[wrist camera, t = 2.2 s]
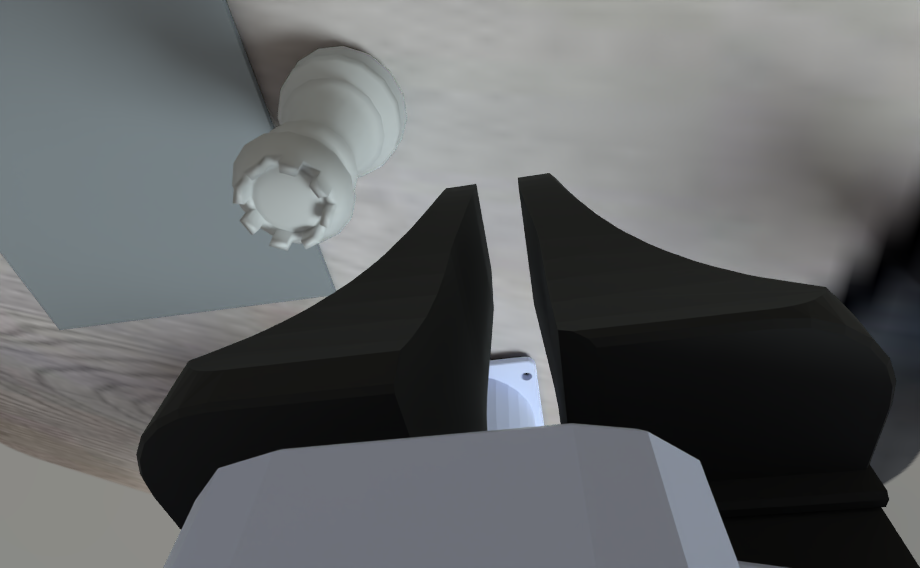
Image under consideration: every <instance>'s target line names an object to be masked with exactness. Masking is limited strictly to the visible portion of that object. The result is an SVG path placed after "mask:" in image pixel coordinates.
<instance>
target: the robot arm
mask: <svg viewBox="0 0 920 568" xmlns="http://www.w3.org/2000/svg"><path fill="white" fill-rule="evenodd" d="M518 184H519V193H520V200H521V208H522V216H523V223H524V231H525V239H526V246H527V254H528V262H529V269H530V277H531V285H532V292H533V300H534V306H535V310H536V314H537V318H538V322H539V326H540V330H541V334H542V338H543V343H544V347H545V351H546V355H547V359H548V363H549V367H550V371H551V375H552V379H553V383H554V387H555V392H556V397H557V402H558V408H559V415H560V422H561V424H558V425H547V426H544V422H543V415H542V407H541V400H540V393H539V386H538V379H537V372H536V364H535V361H534V360H533V359H532V358H530V357H517V358H507V359H498V360H490V353H491V339H492V325H493V311H494V305H493V288H492V272H491V265H490V259H489V254H488V248H487V242H486V237H485V231H484V225H483V220H482V214H481V209H480V203H479V197H478V192H477V186H476V184H473V185H467V186H460V187H453V188H446V189H445V190H444V191H443V192H442V193H441V195H440V196H439V197H438V198H437V199H436V200H435V202H434V203H433V204H432V205H431V206H430V208H429V209H428V210H427V211H426V212H425V213H424V214H423V216H422V217H421V218H420V219H419V220H418V221H417V222H416V224H415V225H414V226H413V227H412V228H411V229H410V230H409V231H408V232H407V233H406V234H405V235H404V236H403V237H402V238H401V239H400V240H399V241H398V242H397V243H396V244H395V245H394V246H393V247H392V248H391V249H390V250H389V251H388V252H387V253H386V254H385V255H384V256H382V257H381V258H380V259H379V260H378V261H377V262H376V263H374V264H373V265H372V266H371V267H369V268H368V269H367V270H366V271H364V272H363V273H362V274H360V275H359V276H358V277H356V278H355V279H354V280H352V281H351V282H350V283H348V284H347V285H345V286H344V287H342V288H340V289H339V290H337V291H336V292H334V293H333V294H331V295H329V296H328V297H326V298H325V299H323V300H321V301H320V302H318V303H317V304H315V305H313V306H312V307H310V308H308V309H306V310H305V311H303V312H301V313H299V314H297V315H295V316H293V317H291V318H290V319H288V320H286V321H284V322H282V323H279V324H277V325H275V326H273V327H271V328H269V329H267V330H265V331H263V332H261V333H258V334H256V335H254V336H252V337H249V338H247V339H244V340H242V341H239V342H237V343H234V344H232V345H229V346H227V347H224V348H221V349H219V350H216V351H214V352H211V353H209V354H206V355H204V356H201V357H198V358H195V359H192V360H190V361H189V362H188V363H187V365H186V366H185V368H184V369H183V371H182V372H181V374H180V376H179V377H178V379H177V380H176V382H175V384H174V385H173V387H172V388H171V390H170V392H169V393H168V395H167V396H166V398H165V399H164V401H163V403H162V404H161V406H160V407H159V409H158V411H157V412H156V414H155V415H154V417H153V418H152V420H151V422H150V423H149V425H148V426H147V428H146V430H145V431H144V433H143V434H142V436H141V439H140V443H139V446H138V450H137V454H136V455H137V460H138V466H139V471H140V474H141V476H142V478H143V480H144V481H145V483H146V485H147V486H148V488H149V490H150V491H151V493H152V495H153V496H154V497H155V499H156V500H157V501H158V502H159V504H160V505H161V506H162V507H163V508H164V510H165V511H166V512H167V513H168V515H169V516H170V517H171V518H172V519H173V521H174V522H175V523H176V524H177V525H178V527H179V528H180V529H181V531H180V534H179V536H178V538H177V540H176V542H175V544H174V546H173V548H172V550H171V552H170V555H169V557H168V559H167V561H166V563H165V565H164V567H163V568H920V567H919V565H918V564H917V562H916V561H915V559H914V558H913V556H912V555H911V553H910V551H909V550H908V548H907V547H906V545H905V544H904V542H903V541H902V539H901V537H900V536H899V534H898V533H897V532H896V530H895V528H894V526H893V525H892V523H891V522H890V520H889V519H888V517H887V516H886V514H885V513H884V511H883V509H882V508H881V507H886V505H887V503H888V501H889V497H888V493H887V490H886V488H885V487H884V485H883V484H882V482H881V481H880V479H879V478H878V476H877V475H876V473H875V472H874V470H873V469H872V467H871V466H870V461H871V459H872V456H873V454H874V451H875V448H876V446H877V443H878V440H879V438H880V435H881V432H882V430H883V427H884V424H885V422H886V419H887V417H888V414H889V411H890V409H891V406H892V402H893V396H894V391H895V385H896V378H895V375H894V371H893V368H892V364H891V360H890V358H889V357H888V356H887V354H886V353H885V352H884V351H883V350H882V349H881V347H880V346H879V345H878V344H877V343H876V342H875V340H874V339H873V338H872V337H871V336H870V334H869V333H868V332H867V330H866V329H865V328H864V327H863V325H862V324H861V323H860V322H859V321H858V319H857V318H856V317H855V316H854V315H853V314H852V313H851V312H850V311H849V310H848V309H847V308H846V307H845V306H844V305H843V303H842V302H841V301H840V300H839V299H838V298H837V297H836V296H835V295H833V294H832V293H831V292H830V291H829V290H828V289H827V288H826V287H821V286H814V285H808V284H801V283H795V282H788V281H782V280H775V279H768V278H762V277H756V276H751V275H747V274H742V273H738V272H734V271H730V270H726V269H721V268H717V267H713V266H710V265H707V264H703V263H700V262H696V261H693V260H690V259H687V258H684V257H682V256H679V255H676V254H673V253H670V252H667V251H665V250H662V249H660V248H657V247H655V246H653V245H650V244H648V243H646V242H644V241H642V240H640V239H638V238H636V237H634V236H632V235H630V234H628V233H626V232H624V231H622V230H620V229H619V228H617V227H615V226H614V225H612V224H611V223H609V222H607V221H606V220H604V219H603V218H601V217H600V216H598V215H597V214H595V213H594V212H593V211H592V210H590V209H589V208H588V207H587V206H585V205H584V204H583V203H582V202H580V201H579V200H578V199H577V198H576V197H575V196H573V195H572V194H571V193H570V192H569V191H568V190H567V189H566V188H565V187H564V186H563V185H562V184H561V183H560V182H559V181H558V180H557V179H556V178H555V177H553V176H552V175H551V174H550V173H547V174H540V175H533V176H527V177H520V178H518ZM523 373H530V374H528V375H524V374H523Z"/></svg>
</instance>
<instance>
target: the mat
mask: <svg viewBox="0 0 920 568" xmlns="http://www.w3.org/2000/svg"><path fill="white" fill-rule="evenodd" d="M273 129H274V126H273V123H272V121H271V118H270V115H269V113H268V110H267V107H266V105H265V102H264V100H263V97H262V94H261V92H260V89H259V86H258V84H257V81H256V78H255V76H254V73H253V70H252V68H251V65H250V63H249V60H248V57H247V55H246V52H245V49H244V47H243V44H242V41H241V39H240V36H239V34H238V31H237V28H236V26H235V23H234V20H233V18H232V15H231V12H230V10H229V7H228V5H227V2H226V0H0V253H1V254H2V255H3V257H4V258H5V259H6V261H7V262H8V263H9V264H10V266H11V267H12V268H13V270H14V271H15V272H16V274H17V275H18V276H19V277H20V279H21V280H22V281H23V283H24V284H25V285H26V287H27V288H28V289H29V291H30V292H31V293H32V294H33V296H34V297H35V298H36V300H37V301H38V302H39V304H40V305H41V306H42V308H43V309H44V310H45V311H46V313H47V314H48V315H49V317H50V318H51V319H52V321H53V322H54V323H55V324H56V326H57V327H58V328H59V330H64V329H72V328H80V327H88V326H95V325H103V324H111V323H119V322H127V321H135V320H143V319H151V318H158V317H166V316H174V315H182V314H190V313H198V312H206V311H214V310H221V309H229V308H237V307H245V306H253V305H261V304H269V303H277V302H284V301H292V300H300V299H308V298H316V297H324V296H329V295H331V294H333V293H334V292H336V290H335V287H334V284H333V282H332V279H331V276H330V274H329V271H328V268H327V266H326V263H325V260H324V258H323V255H322V253H321V250H320V247H319V245H318V244H316V245H314V246H312V247H310V248H308V249H305V247H304V245H303V244H297V243H293V242H292V244H291V246H290V248H289V249H288V251H286V250H283V249H279V248H275V247H271V246H269V245H270V242H271V239H272V237H273V236H272V235H270V234H269V233H267V232H266V231H264V230H262V229H261V228H260V229H259V230H258V231H257V232H255V233H254V234H253V235H251V234H250V232H249V231H248V230H247V229H246V228H245V227H244V225H243V224H242V223H241V222H240V221H239V220H240V219H241V218H242V216H243V215H244V214H245V212H244V211H243V210H242V208H241V207H240V205H239V204H234V203H233V192H234V189H233V186H232V178H233V163H234V161H235V160H236V158H237V156H238V155H239V153H240V152H241V150H242V148H243V147H244V145H245V144H247V143H249V142H250V141H252V140H254V139H256V138H257V137H259V136H261V135H262V134H265V133H269V132H270V131H271V130H273Z"/></svg>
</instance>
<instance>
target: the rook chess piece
mask: <svg viewBox="0 0 920 568" xmlns="http://www.w3.org/2000/svg"><path fill="white" fill-rule="evenodd" d="M278 120H279V124H280V125H279V126H278V127H276V128H274V129H273V130H271V131H270V132H269V133H265V134H262V135H261V136H259V137H257V138H256V139H254V140H252V141H250V142H249V143H247V144H245V145H244V147H243V148H242V150H241V152H240V153H239V155H238V156H237V158H236V160H235V161H234V163H233V178H232V186H233V189H234V192H233V203H234V204H239V205H240V207H241V208H242V210H243V211H244V212H245V214H244V215H243V216H242V218H241V219H240V220H239V221H240V222H241V223H242V224H243V225H244V227H245V228H246V229H247V230H248V231H249V232H250V234H251V235H253V234H254V233H255V232H257V231H258V230H259V229H260V228H261V229H262V230H264V231H266V232H267V233H269V234H270V235H272V236H273V237H272V239H271V242H270V245H269V246H271V247H275V248H279V249H283V250H286V251H288V249H289V248H290V246H291V244H292V242H293V243H297V244H303V245H304V247H305V249H308V248H310V247H312V246H314V245H316V244H318V243H321V242H323V241H325V240H327V239H329V238H331V237H333V236H335V235H337V234H339V233H340V232H341V231H342V230H343V228H344V227H345V226H346V225H347V223H348V222H349V221H350V219H351V218H352V215H353V210H354V205H355V200H356V195H355V191H354V190H355V186H356V182H357V177H362V176H364V175H366V174H368V173H370V172H372V171H374V170H375V169H377V168H379V167H381V166H383V165H384V164H385V163H386V161H387V160H388V159H389V157H390V156H391V155H392V154H393V152H394V151H395V150H396V148H397V145H398V144H399V143H400V141H401V140H402V136H403V132H404V128H405V124H406V120H407V115H406V108H405V102H404V96H403V93H402V91H401V89H400V87H399V86H398V84H397V82H396V81H395V79H394V77H393V76H392V74H391V72H390V71H389V70H388V69H387V68H386V67H384V66H383V65H382V64H381V63H379V62H378V61H377V60H376V59H374V58H373V57H372V56H371V55H369V54H367V53H364V52H361V51H358V50H355V49H351V48H348V47H345V46H339V47H329V48H320V49H317V50H316V51H314V52H312V53H311V54H309V55H307V56H306V57H304V58H303V59H301V60H299V61H298V62H297V64H296V66H295V67H294V69H293V70H292V71H291V73H290V75H289V76H288V78H287V80H286V81H285V83H284V84H283V86H282V88H281V89H280V98H279V108H278Z"/></svg>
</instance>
